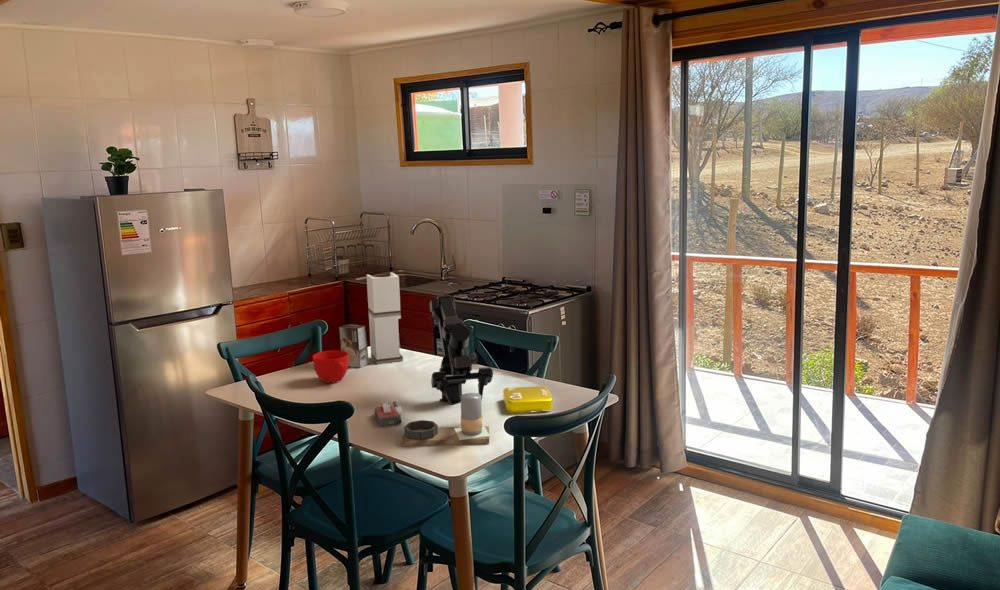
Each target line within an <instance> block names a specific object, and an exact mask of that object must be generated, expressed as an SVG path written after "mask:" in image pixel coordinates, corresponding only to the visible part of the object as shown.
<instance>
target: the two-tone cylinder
mask: <svg viewBox="0 0 1000 590" xmlns="http://www.w3.org/2000/svg"><path fill="white" fill-rule="evenodd" d="M482 411H483V410H482V401H481V395H480V394H479V393H476V392H467V393H464V394H463V393H462V395H461V402H460V412H461V413H460V414H461V415H460V427H461V430H462V434H464V435H467V436H475V435H479V434H481V433H482V425H483V415H482V413H483V412H482Z"/></svg>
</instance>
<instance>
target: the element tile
mask: <svg viewBox="0 0 1000 590" xmlns="http://www.w3.org/2000/svg"><path fill="white" fill-rule="evenodd" d="M502 394H503V395H502V396H503V404H504V407H505V411H506V412H507V414H511V413H516V414H525V413H524V412H531V411H543V410H551V409H552V410H553V396H552V395H551V393H550V391H549V390H548V387H546V386H543V385H540V386H539V385H537V386H523V387H522V386H521V387H505V388H504V389H503V390H502ZM521 412H522V413H521Z"/></svg>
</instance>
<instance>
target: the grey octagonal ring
mask: <svg viewBox="0 0 1000 590" xmlns="http://www.w3.org/2000/svg"><path fill="white" fill-rule="evenodd" d="M403 427H404V428H403V429H404V430H403V431H404V432H403V433H405V436H406V437H407V438H408V439H413V440H425V439H430V438H433V437H435V436H436V435H437V434H438V427H439V426H438V424H437V423H436V422H435V421H433V420H426V419H422V420H419V419H418V420H415V421H410V422H408V423H407V424H406V425H404V426H403ZM418 429H428V430H424V431H414V430H418Z"/></svg>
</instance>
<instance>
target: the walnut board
mask: <svg viewBox="0 0 1000 590" xmlns="http://www.w3.org/2000/svg"><path fill="white" fill-rule="evenodd" d="M484 427H485V428H486V430H487V432H488V433H489V434H490V426H489V425H484ZM454 428H461V426H449V427H448V426H445V427H444V426H443V427H442V426H441V427H439V426H438V434H437V435H436V436H435V437H433V438H430V439H425V440H413V439H408V438H407V437H406V436H405V432H403V436H402V440H401V445H402V447H410V446H413V447H414V446H419V447H420V446H446V445H445V444H448V445H449V446H451V445H450V444H456V445H484V444H483V443H489V444H490V437H482V438H473V439H464V440H459V438H458V436H457V434H456V432H455V430H454ZM424 430H428V429H418V430H414V431H424ZM440 444H441V445H440Z"/></svg>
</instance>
